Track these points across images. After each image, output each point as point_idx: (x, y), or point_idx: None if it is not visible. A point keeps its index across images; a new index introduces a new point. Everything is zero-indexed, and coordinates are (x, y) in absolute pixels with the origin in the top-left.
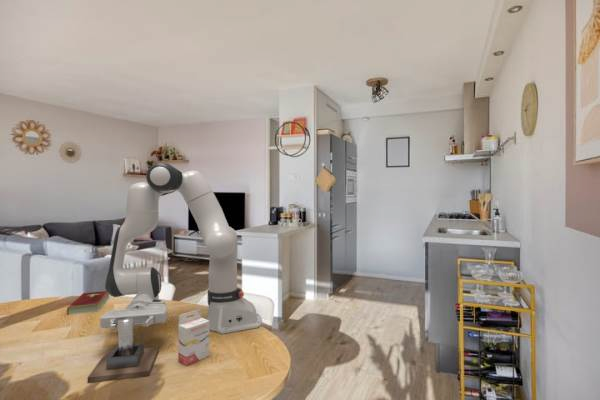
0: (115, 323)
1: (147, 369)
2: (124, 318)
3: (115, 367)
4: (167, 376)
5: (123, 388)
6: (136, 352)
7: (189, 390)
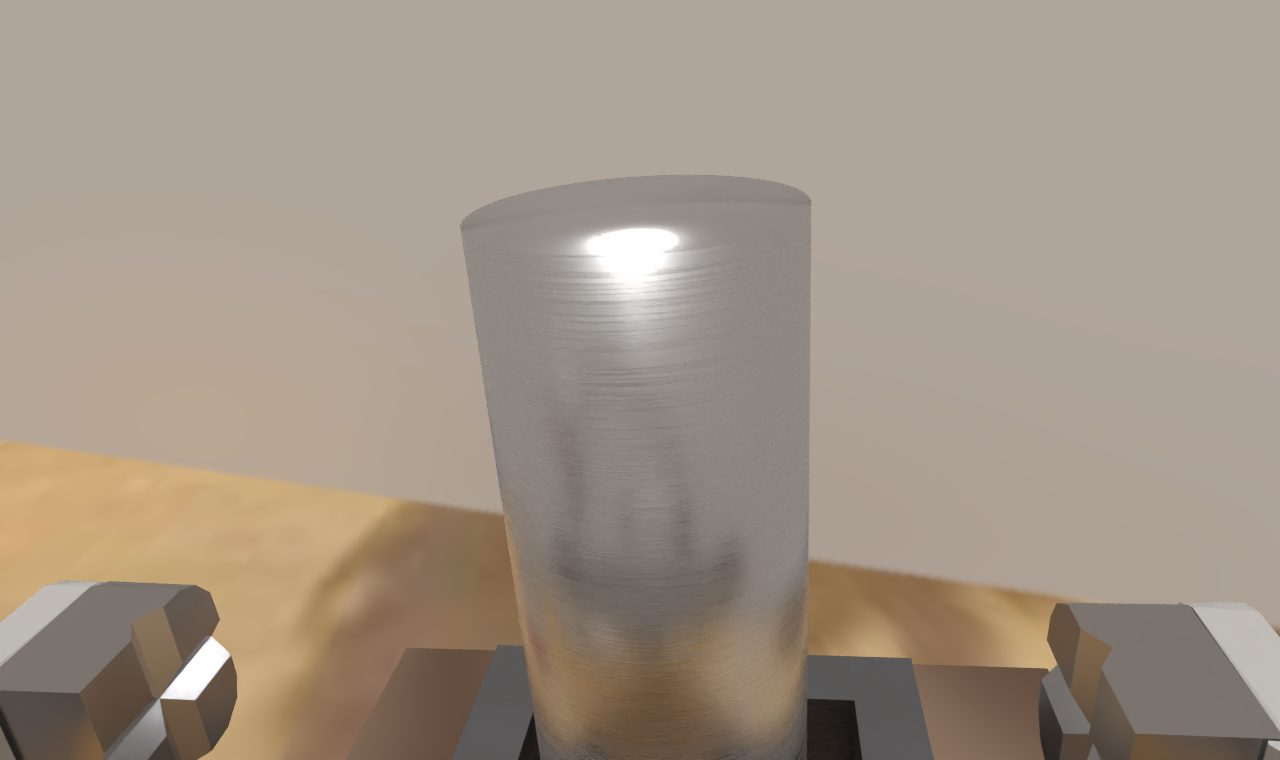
0: (1118, 657)
1: (415, 669)
2: (671, 222)
3: None
4: (262, 650)
5: None
6: (504, 748)
7: (210, 497)
